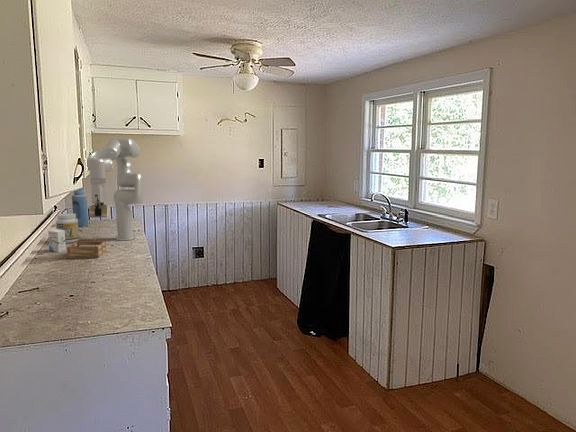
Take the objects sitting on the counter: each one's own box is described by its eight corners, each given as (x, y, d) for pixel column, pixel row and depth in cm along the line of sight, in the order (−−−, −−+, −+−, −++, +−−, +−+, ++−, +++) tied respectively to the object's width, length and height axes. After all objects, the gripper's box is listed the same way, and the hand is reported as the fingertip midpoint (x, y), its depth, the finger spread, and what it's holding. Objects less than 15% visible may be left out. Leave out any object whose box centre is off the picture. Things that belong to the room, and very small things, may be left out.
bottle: (91, 225, 330) (88, 185, 325) (81, 227, 321) (78, 186, 316) (81, 224, 333) (78, 184, 328) (70, 226, 324) (68, 185, 319)
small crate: (92, 215, 244) (92, 205, 243) (110, 215, 245) (109, 204, 244) (89, 217, 238) (89, 206, 237) (107, 217, 239) (106, 206, 238)
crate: (77, 252, 248) (76, 241, 247) (106, 251, 249) (105, 241, 249) (67, 258, 233) (67, 247, 233) (98, 258, 235) (97, 246, 234)
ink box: (48, 250, 251) (47, 230, 249) (56, 248, 255) (55, 228, 253) (58, 252, 247) (57, 231, 245) (66, 250, 251) (65, 230, 249)
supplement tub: (55, 243, 268) (53, 216, 265) (59, 239, 279) (57, 213, 276) (77, 242, 271) (75, 215, 268) (80, 238, 283) (78, 212, 280)
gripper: (95, 180, 246) (96, 212, 249) (85, 183, 229) (88, 217, 232) (109, 180, 247) (110, 212, 250) (101, 182, 231) (103, 217, 233)
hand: (99, 214), depth 241 cm, fingers closed on small crate, 6 cm apart
